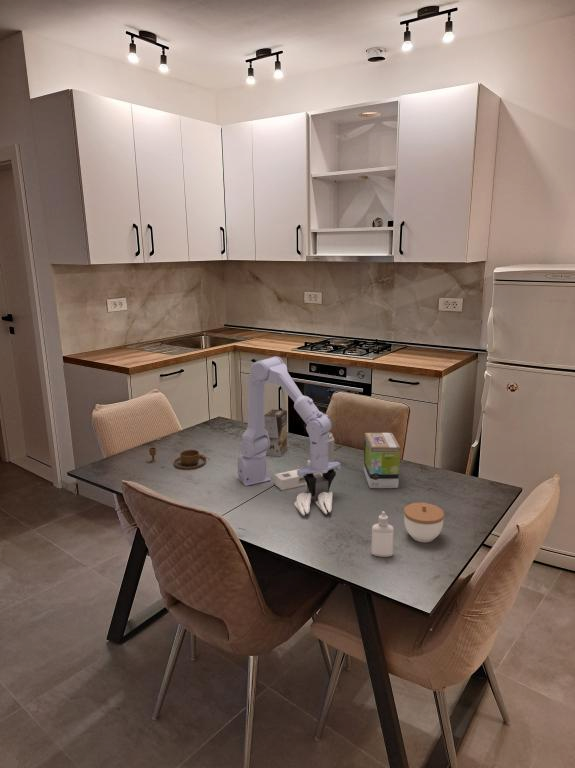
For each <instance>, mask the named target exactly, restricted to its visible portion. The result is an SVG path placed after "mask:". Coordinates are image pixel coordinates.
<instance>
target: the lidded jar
mask: <svg viewBox="0 0 575 768" xmlns="http://www.w3.org/2000/svg"><path fill="white" fill-rule="evenodd" d="M444 519H445V512H444V510H443V509H442V508H441V507H439V506H438V505H435V504H431V503H428V502H412V503H409V504H408V505H406V506H405V507H404V509H403V520H404V521H403V522H404V527H405V530H406V531H407V533H408V534H409V536H411V539H413V540H415V541H416V542H420V543H430V542H432V541H434V539H436V538H437V537H438V536H439V535H440V534H441V532H442V530H443V526H444Z"/></svg>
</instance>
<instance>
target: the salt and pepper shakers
mask: <svg viewBox="0 0 575 768" xmlns="http://www.w3.org/2000/svg"><path fill="white" fill-rule="evenodd" d="M311 500H312V499H311V493H307V492H301V493H298V494H297V496H296V499H295V502H294V503H293V505H294V506H295V507H296V510H298V511H299V513H300V514H301V515H302V516H305V515H306V514H307V515H308V514H309V513H310V510H311V502H312V501H311ZM314 503H315V504H316V506H317V507H318V508H319V509H320V510H321V511H322V513H324V514H325V515H327V514H328V513H331V512H332V509H333V491H329V493H326V492H322V493H320V494H319V495H318V500H317V501H316V502H315V501H314ZM327 510H328V511H327Z"/></svg>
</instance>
